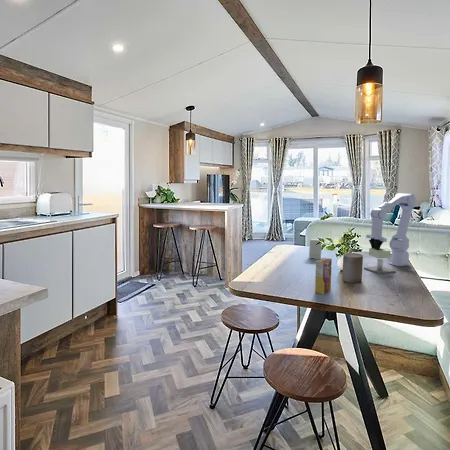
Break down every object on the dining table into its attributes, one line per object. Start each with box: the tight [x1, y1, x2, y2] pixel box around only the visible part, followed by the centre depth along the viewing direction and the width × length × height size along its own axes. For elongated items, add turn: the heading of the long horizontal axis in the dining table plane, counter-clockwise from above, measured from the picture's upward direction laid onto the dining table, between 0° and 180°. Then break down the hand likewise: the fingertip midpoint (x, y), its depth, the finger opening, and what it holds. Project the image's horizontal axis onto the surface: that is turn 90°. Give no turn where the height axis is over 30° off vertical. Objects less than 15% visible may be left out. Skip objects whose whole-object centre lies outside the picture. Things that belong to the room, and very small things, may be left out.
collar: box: [368, 247, 391, 259], centre depth 211 cm, size 8×8×4 cm
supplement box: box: [308, 238, 322, 260], centre depth 240 cm, size 7×7×13 cm
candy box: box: [314, 257, 333, 295], centre depth 170 cm, size 9×4×15 cm, turn 140°
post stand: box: [363, 258, 397, 275], centre depth 209 cm, size 12×12×6 cm
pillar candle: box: [341, 252, 364, 284], centre depth 188 cm, size 10×10×15 cm
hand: (375, 251), depth 214 cm, fingers closed on collar
